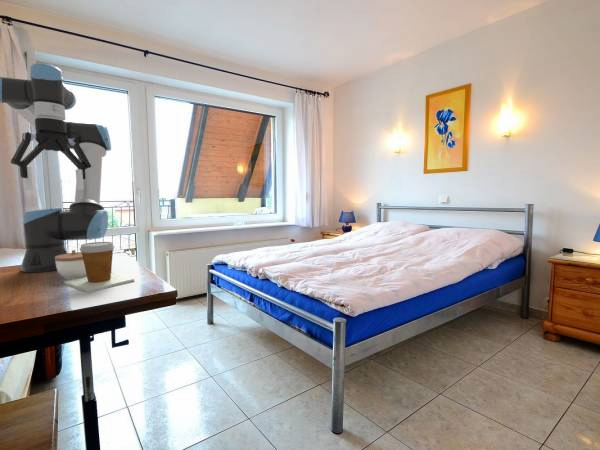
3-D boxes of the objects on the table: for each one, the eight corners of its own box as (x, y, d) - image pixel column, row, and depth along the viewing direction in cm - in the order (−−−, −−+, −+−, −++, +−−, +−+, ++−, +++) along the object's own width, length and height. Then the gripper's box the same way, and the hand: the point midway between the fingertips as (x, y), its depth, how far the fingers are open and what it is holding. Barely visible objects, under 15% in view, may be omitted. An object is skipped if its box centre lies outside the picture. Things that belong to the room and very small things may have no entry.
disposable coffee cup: (116, 275, 110) (114, 240, 109) (116, 281, 102) (113, 244, 101) (83, 278, 106) (80, 242, 104) (80, 285, 97) (77, 247, 96)
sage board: (64, 283, 102) (64, 281, 102) (109, 274, 114) (109, 272, 114) (88, 292, 94) (87, 289, 94) (134, 281, 105) (134, 278, 105)
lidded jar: (74, 281, 105) (72, 253, 104) (48, 280, 107) (45, 252, 106) (101, 273, 115) (99, 248, 114) (76, 272, 118) (74, 247, 117)
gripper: (1, 109, 84) (9, 189, 87) (100, 125, 106) (104, 189, 108) (-9, 112, 88) (-1, 189, 90) (88, 127, 109) (92, 189, 112)
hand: (56, 189), depth 99 cm, fingers open, 13 cm apart
